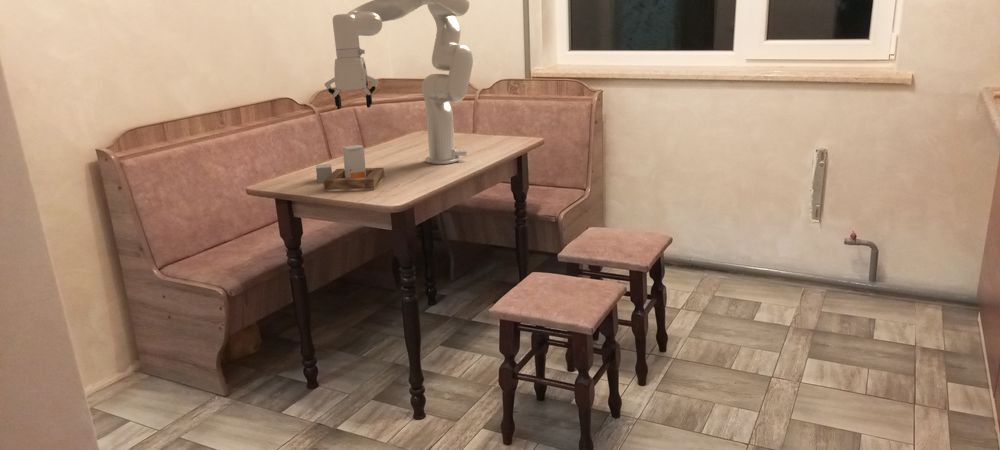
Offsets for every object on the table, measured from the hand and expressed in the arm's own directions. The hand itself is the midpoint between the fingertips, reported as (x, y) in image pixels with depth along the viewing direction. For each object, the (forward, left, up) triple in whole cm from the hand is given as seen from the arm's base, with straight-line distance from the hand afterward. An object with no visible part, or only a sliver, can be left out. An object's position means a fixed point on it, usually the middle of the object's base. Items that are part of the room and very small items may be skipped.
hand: (354, 107), depth 248 cm
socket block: (+1, +5, -25) cm, 25 cm away
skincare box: (0, +5, -24) cm, 25 cm away
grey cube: (+13, -2, -25) cm, 28 cm away
